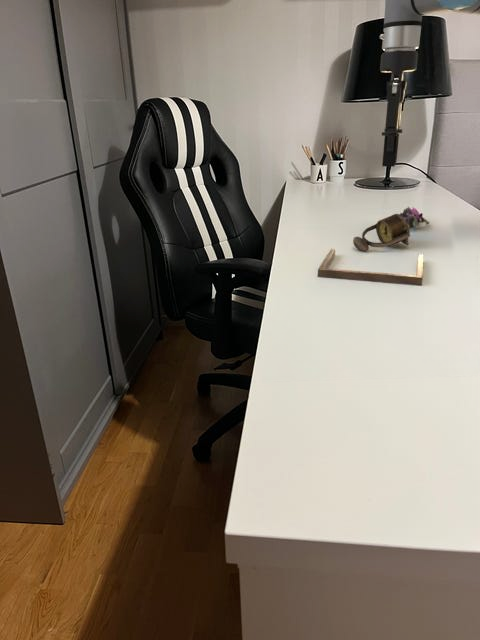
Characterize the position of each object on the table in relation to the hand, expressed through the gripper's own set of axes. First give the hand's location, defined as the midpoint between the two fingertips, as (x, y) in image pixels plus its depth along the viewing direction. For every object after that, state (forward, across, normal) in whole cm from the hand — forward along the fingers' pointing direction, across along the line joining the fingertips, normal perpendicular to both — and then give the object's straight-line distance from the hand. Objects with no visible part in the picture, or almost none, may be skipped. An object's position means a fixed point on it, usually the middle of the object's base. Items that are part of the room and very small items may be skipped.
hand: (389, 164), depth 116 cm
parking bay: (+17, +26, 0) cm, 31 cm away
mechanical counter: (+17, +10, 0) cm, 20 cm away
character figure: (+17, -13, +6) cm, 22 cm away
